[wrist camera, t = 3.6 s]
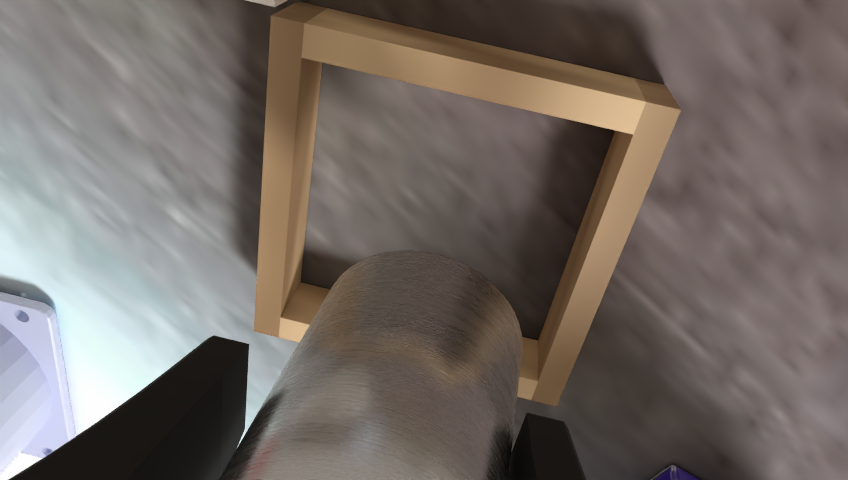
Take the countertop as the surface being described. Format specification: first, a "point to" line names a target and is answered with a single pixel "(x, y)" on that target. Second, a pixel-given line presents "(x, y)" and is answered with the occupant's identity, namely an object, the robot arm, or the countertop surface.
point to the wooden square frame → (475, 77)
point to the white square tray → (269, 2)
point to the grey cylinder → (394, 381)
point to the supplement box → (674, 474)
